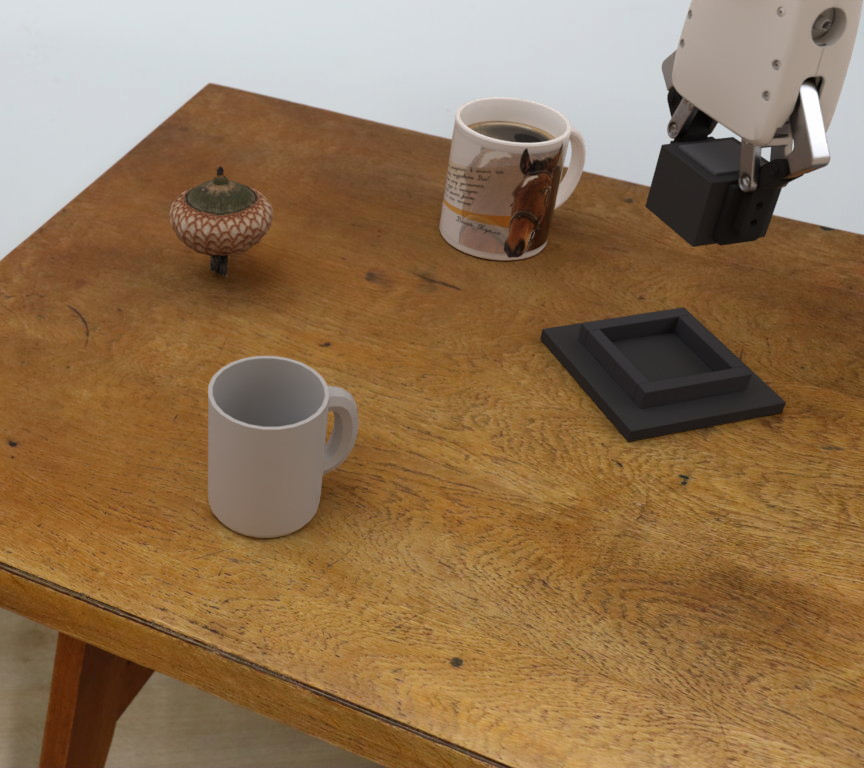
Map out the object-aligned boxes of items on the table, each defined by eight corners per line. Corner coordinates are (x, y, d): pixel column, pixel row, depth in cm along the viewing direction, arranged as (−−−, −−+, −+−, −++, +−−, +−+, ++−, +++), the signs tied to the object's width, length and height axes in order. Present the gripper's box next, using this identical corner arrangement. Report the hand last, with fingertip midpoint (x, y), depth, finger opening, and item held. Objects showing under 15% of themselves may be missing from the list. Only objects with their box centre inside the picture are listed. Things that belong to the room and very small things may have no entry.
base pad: (782, 413, 81) (793, 385, 80) (627, 442, 78) (636, 414, 76) (681, 317, 91) (689, 291, 89) (539, 339, 87) (545, 312, 86)
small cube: (765, 237, 71) (788, 170, 68) (692, 247, 70) (713, 179, 67) (714, 197, 75) (734, 133, 73) (644, 206, 74) (662, 141, 71)
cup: (190, 480, 72) (189, 371, 67) (326, 443, 76) (336, 336, 71) (234, 554, 67) (236, 442, 62) (378, 510, 71) (392, 400, 66)
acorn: (289, 284, 92) (295, 175, 86) (204, 313, 88) (204, 201, 82) (234, 241, 97) (236, 135, 91) (152, 267, 93) (148, 158, 87)
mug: (444, 198, 106) (460, 87, 99) (571, 215, 104) (596, 103, 97) (434, 252, 97) (451, 135, 91) (572, 272, 96) (600, 154, 89)
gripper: (966, -28, 56) (842, 277, 67) (754, -113, 69) (679, 155, 80) (845, -21, 54) (737, 294, 65) (650, -110, 67) (588, 165, 78)
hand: (706, 214), depth 72 cm, fingers closed on small cube, 5 cm apart
